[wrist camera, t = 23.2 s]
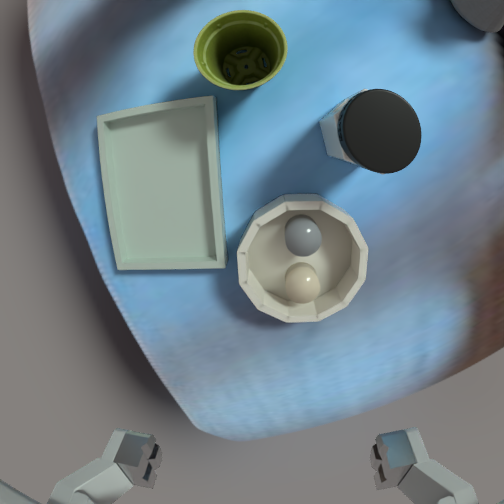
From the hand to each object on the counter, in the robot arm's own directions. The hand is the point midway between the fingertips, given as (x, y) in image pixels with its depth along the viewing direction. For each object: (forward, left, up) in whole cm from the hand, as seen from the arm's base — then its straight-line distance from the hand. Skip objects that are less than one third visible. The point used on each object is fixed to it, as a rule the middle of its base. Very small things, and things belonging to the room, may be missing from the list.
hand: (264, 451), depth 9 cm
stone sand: (+8, +4, -32) cm, 34 cm away
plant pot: (-20, -2, -33) cm, 39 cm away
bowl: (+5, +4, -33) cm, 34 cm away
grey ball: (+2, +4, -32) cm, 33 cm away
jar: (-11, +11, -33) cm, 37 cm away
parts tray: (-5, -14, -33) cm, 36 cm away
